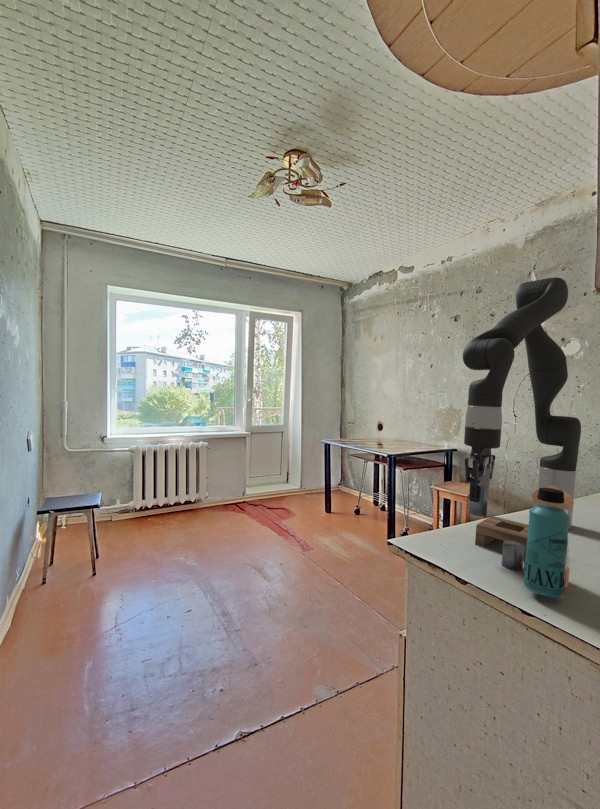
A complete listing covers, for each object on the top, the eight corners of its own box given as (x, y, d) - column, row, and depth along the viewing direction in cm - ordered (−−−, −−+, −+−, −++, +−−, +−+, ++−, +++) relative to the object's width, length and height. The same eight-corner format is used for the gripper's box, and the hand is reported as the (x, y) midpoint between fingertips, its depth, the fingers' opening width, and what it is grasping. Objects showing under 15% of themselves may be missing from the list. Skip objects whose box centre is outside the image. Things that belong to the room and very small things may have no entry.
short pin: (504, 561, 84) (506, 539, 84) (524, 567, 82) (526, 544, 82) (499, 566, 81) (500, 543, 81) (520, 573, 79) (521, 549, 79)
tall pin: (471, 509, 90) (474, 464, 89) (488, 514, 87) (493, 467, 87) (465, 512, 87) (469, 465, 86) (483, 517, 84) (487, 469, 84)
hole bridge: (490, 533, 102) (491, 515, 102) (541, 548, 94) (543, 528, 94) (475, 544, 93) (476, 524, 93) (530, 561, 85) (531, 539, 85)
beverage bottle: (513, 590, 71) (521, 485, 71) (538, 585, 73) (546, 484, 73) (547, 608, 65) (555, 494, 65) (572, 603, 67) (581, 492, 67)
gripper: (476, 424, 94) (471, 491, 95) (454, 425, 84) (449, 501, 84) (509, 426, 89) (504, 498, 89) (490, 428, 79) (485, 509, 79)
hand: (477, 499), depth 87 cm, fingers closed on tall pin, 4 cm apart
